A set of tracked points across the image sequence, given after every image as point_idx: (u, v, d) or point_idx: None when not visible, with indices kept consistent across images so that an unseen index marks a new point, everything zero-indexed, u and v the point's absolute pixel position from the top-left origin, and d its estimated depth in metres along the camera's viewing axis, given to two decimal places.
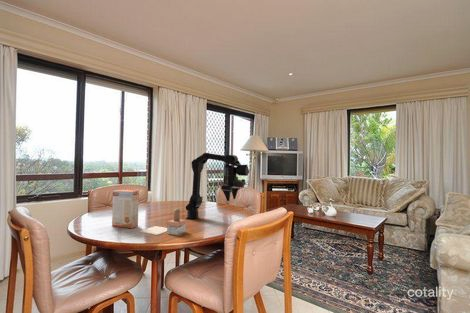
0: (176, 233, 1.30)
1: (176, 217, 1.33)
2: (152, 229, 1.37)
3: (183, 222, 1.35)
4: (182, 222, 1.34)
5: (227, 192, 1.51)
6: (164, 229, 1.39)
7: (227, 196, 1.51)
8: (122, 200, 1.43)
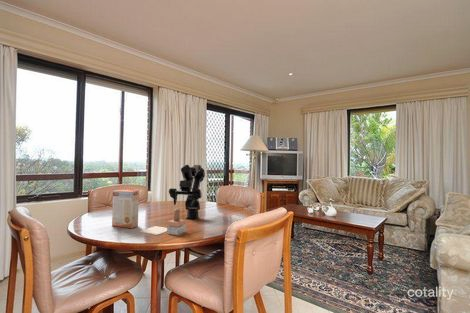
0: (176, 233, 1.30)
1: (176, 217, 1.33)
2: (152, 229, 1.37)
3: (183, 222, 1.35)
4: (182, 222, 1.34)
5: None
6: (164, 229, 1.39)
7: (174, 200, 1.45)
8: (122, 200, 1.43)
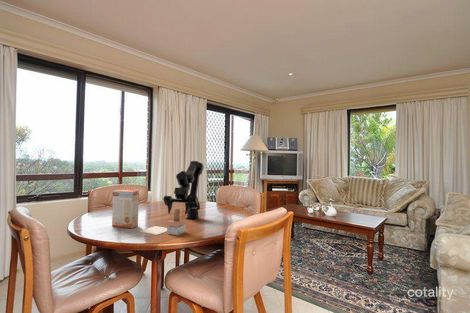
0: (176, 233, 1.30)
1: (176, 217, 1.33)
2: (152, 229, 1.37)
3: (183, 222, 1.35)
4: (182, 222, 1.34)
5: None
6: (164, 229, 1.39)
7: None
8: (122, 200, 1.43)
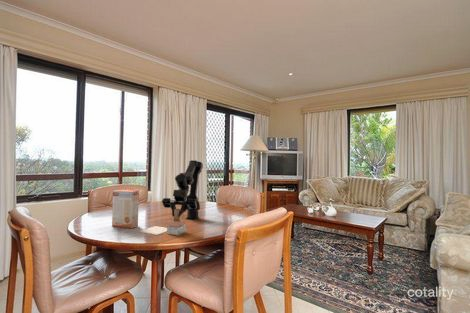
0: (176, 233, 1.30)
1: (176, 217, 1.33)
2: (152, 229, 1.37)
3: (183, 222, 1.35)
4: (182, 222, 1.34)
5: None
6: (164, 229, 1.39)
7: None
8: (122, 200, 1.43)
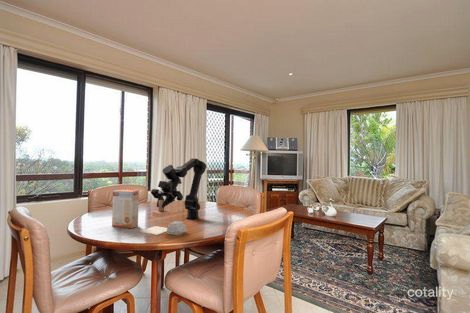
0: (176, 233, 1.30)
1: (159, 208, 1.35)
2: (152, 229, 1.37)
3: (167, 213, 1.36)
4: (165, 213, 1.35)
5: None
6: (164, 229, 1.39)
7: None
8: (122, 200, 1.43)
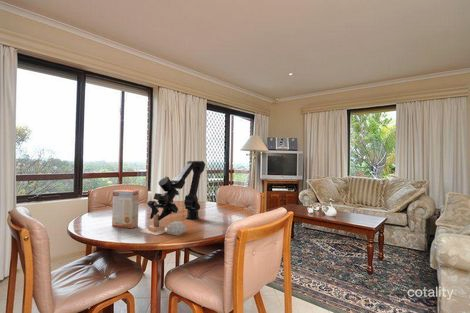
0: (176, 233, 1.30)
1: (154, 222, 1.36)
2: None
3: (162, 228, 1.36)
4: (160, 228, 1.36)
5: None
6: None
7: None
8: (122, 200, 1.43)
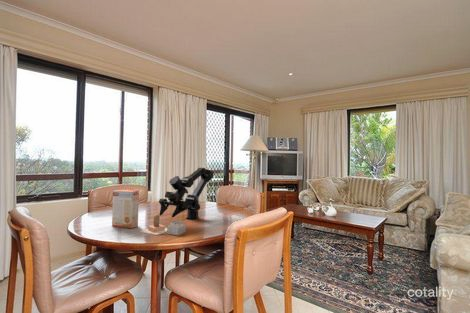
0: (176, 233, 1.30)
1: (154, 222, 1.36)
2: None
3: (162, 228, 1.36)
4: (160, 228, 1.36)
5: None
6: None
7: None
8: (122, 200, 1.43)
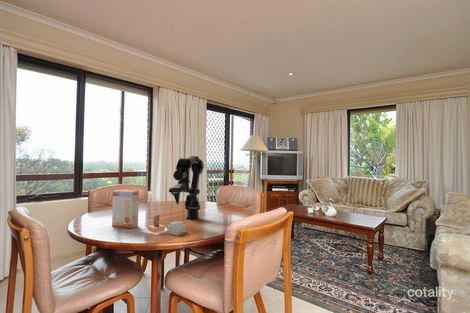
0: (176, 233, 1.30)
1: (154, 222, 1.36)
2: None
3: (162, 228, 1.36)
4: (160, 228, 1.36)
5: None
6: None
7: None
8: (122, 200, 1.43)
